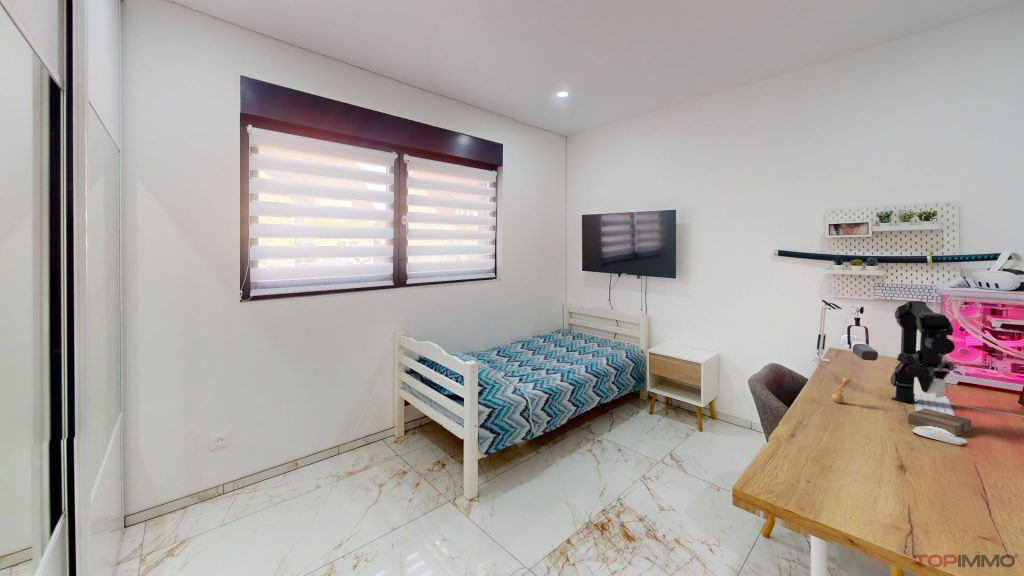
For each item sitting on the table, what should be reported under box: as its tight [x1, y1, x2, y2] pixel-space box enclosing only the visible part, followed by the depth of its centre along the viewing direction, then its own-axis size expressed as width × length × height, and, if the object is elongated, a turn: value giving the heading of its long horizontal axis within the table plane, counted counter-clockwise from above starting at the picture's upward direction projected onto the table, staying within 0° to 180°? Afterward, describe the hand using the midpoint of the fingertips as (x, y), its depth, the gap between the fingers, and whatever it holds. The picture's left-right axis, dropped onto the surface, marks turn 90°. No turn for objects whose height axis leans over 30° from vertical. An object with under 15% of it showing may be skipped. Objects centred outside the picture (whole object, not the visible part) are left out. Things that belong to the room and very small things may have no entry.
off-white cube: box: [914, 377, 946, 399], centre depth 143 cm, size 6×6×6 cm
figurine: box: [831, 375, 851, 404], centre depth 164 cm, size 8×6×12 cm
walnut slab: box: [907, 408, 972, 436], centre depth 141 cm, size 12×12×4 cm
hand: (929, 390), depth 143 cm, fingers closed on off-white cube, 6 cm apart
